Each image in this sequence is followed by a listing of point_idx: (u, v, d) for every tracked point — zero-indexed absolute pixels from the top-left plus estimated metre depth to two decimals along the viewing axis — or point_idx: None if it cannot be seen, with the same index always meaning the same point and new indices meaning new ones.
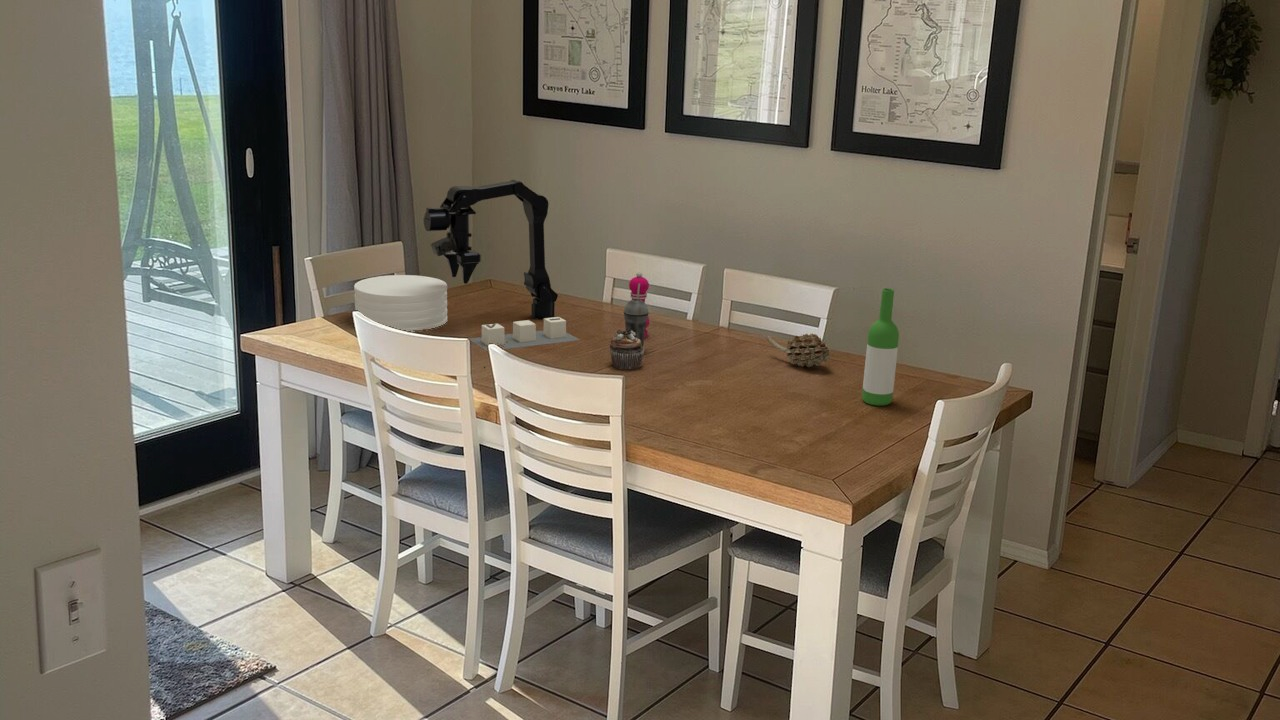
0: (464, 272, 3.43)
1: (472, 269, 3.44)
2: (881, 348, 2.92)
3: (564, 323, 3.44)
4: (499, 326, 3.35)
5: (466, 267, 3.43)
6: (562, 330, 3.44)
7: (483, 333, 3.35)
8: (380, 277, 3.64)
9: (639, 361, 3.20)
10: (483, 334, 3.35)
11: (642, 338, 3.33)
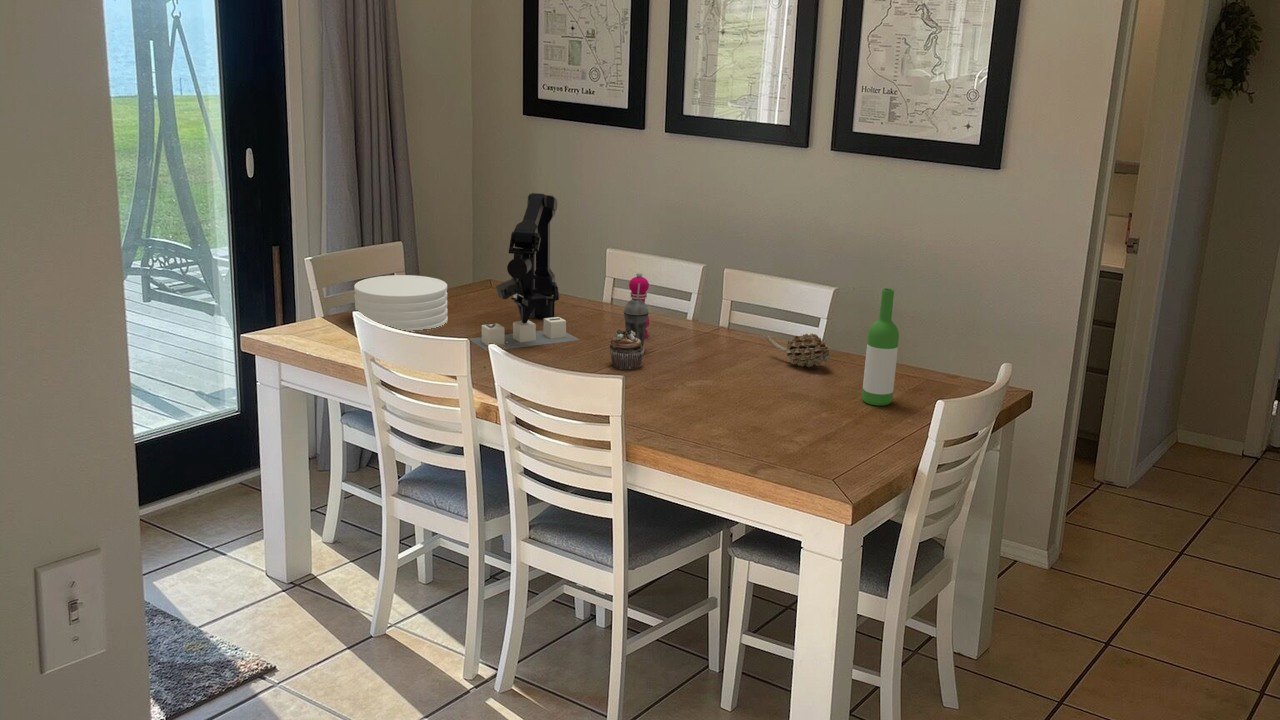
0: (524, 312, 3.37)
1: (532, 309, 3.38)
2: (881, 348, 2.92)
3: (564, 323, 3.44)
4: (499, 326, 3.35)
5: (526, 307, 3.37)
6: (562, 330, 3.44)
7: (483, 333, 3.35)
8: (380, 277, 3.64)
9: (639, 361, 3.20)
10: (483, 334, 3.35)
11: (642, 338, 3.33)
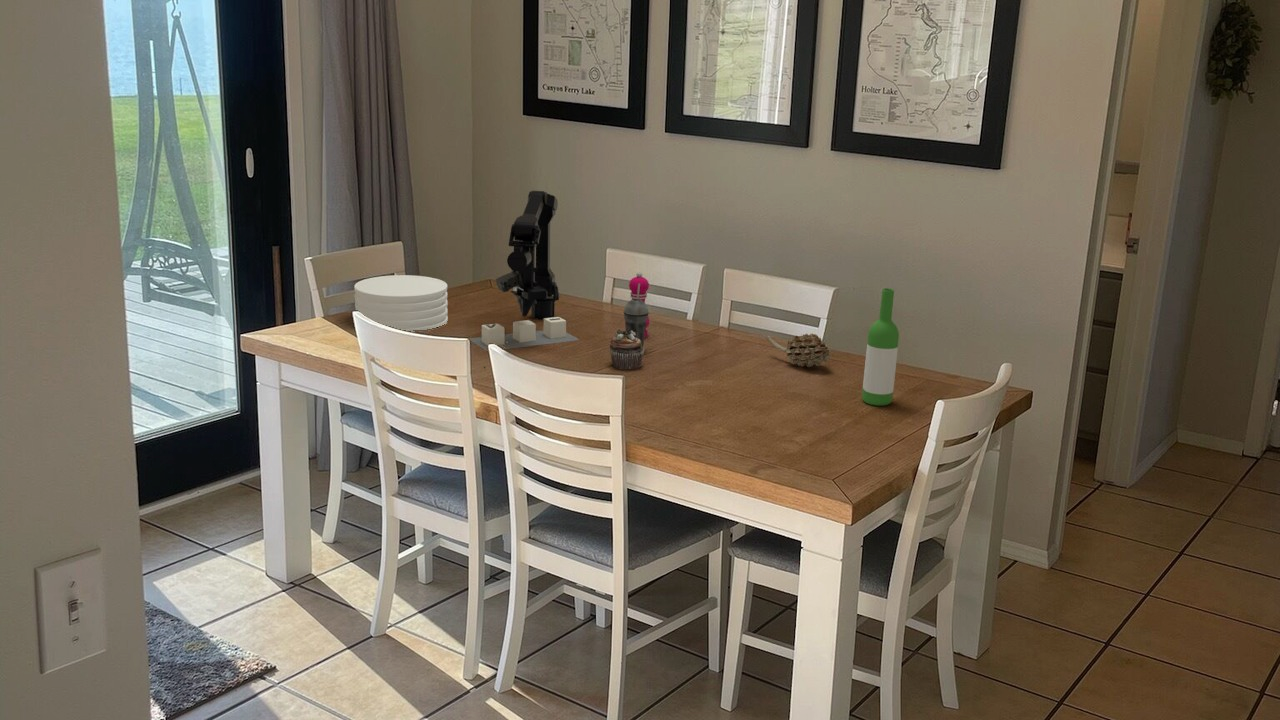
0: (524, 305, 3.37)
1: (532, 302, 3.37)
2: (881, 348, 2.92)
3: (564, 323, 3.44)
4: (499, 326, 3.35)
5: (526, 300, 3.37)
6: (562, 330, 3.44)
7: (483, 333, 3.35)
8: (380, 277, 3.64)
9: (639, 361, 3.20)
10: (483, 334, 3.35)
11: (642, 338, 3.33)
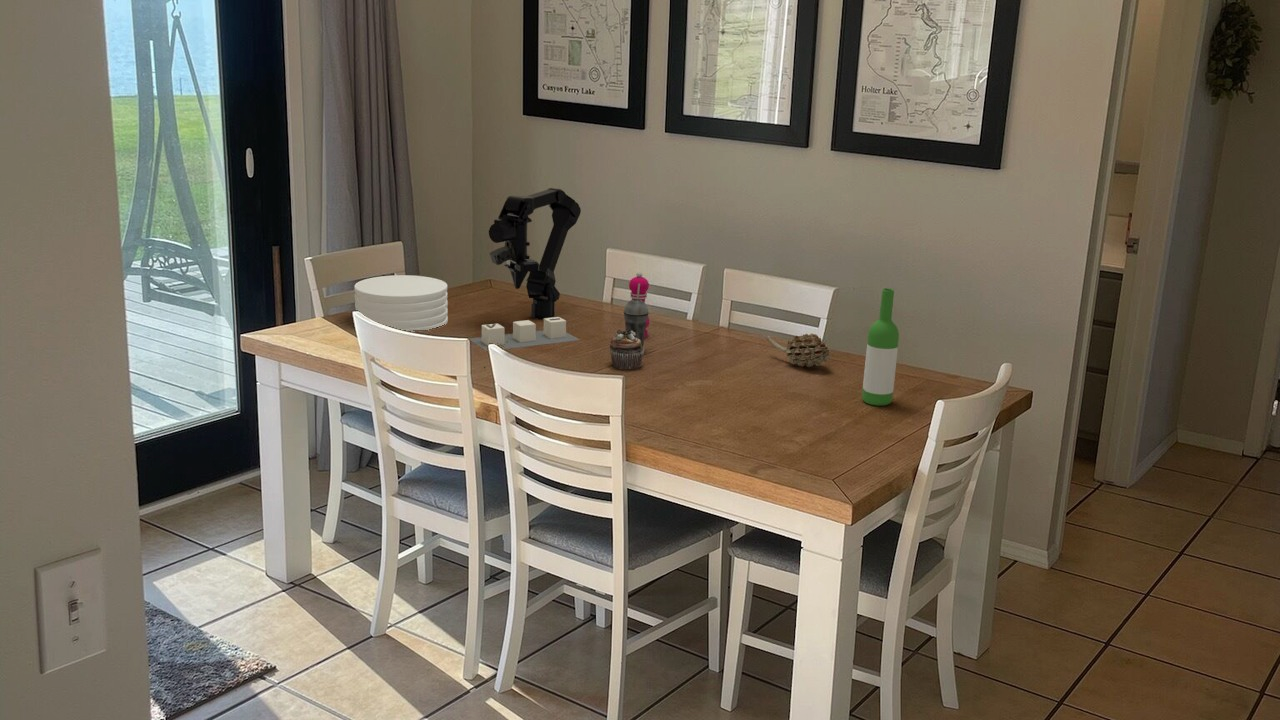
0: (516, 277, 3.51)
1: (524, 275, 3.52)
2: (881, 348, 2.92)
3: (564, 323, 3.44)
4: (499, 326, 3.35)
5: (518, 273, 3.51)
6: (562, 330, 3.44)
7: (483, 333, 3.35)
8: (380, 277, 3.64)
9: (639, 361, 3.20)
10: (483, 334, 3.35)
11: (642, 338, 3.33)
